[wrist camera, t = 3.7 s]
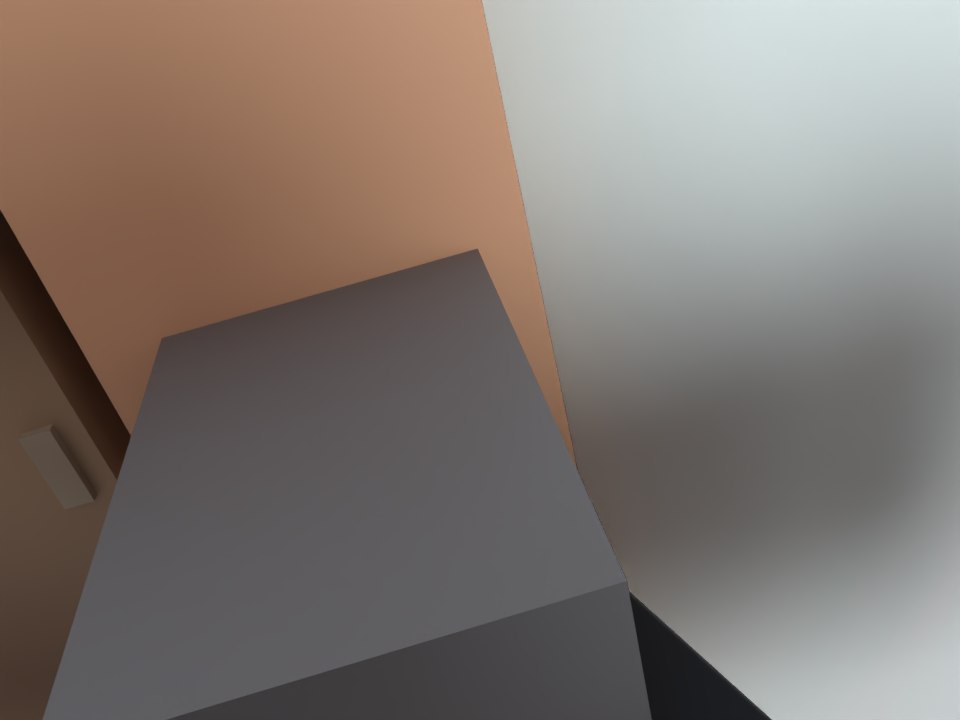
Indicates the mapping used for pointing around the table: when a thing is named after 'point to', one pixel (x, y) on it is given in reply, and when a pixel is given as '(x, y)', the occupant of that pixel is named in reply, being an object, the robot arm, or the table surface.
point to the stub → (309, 367)
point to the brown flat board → (45, 480)
